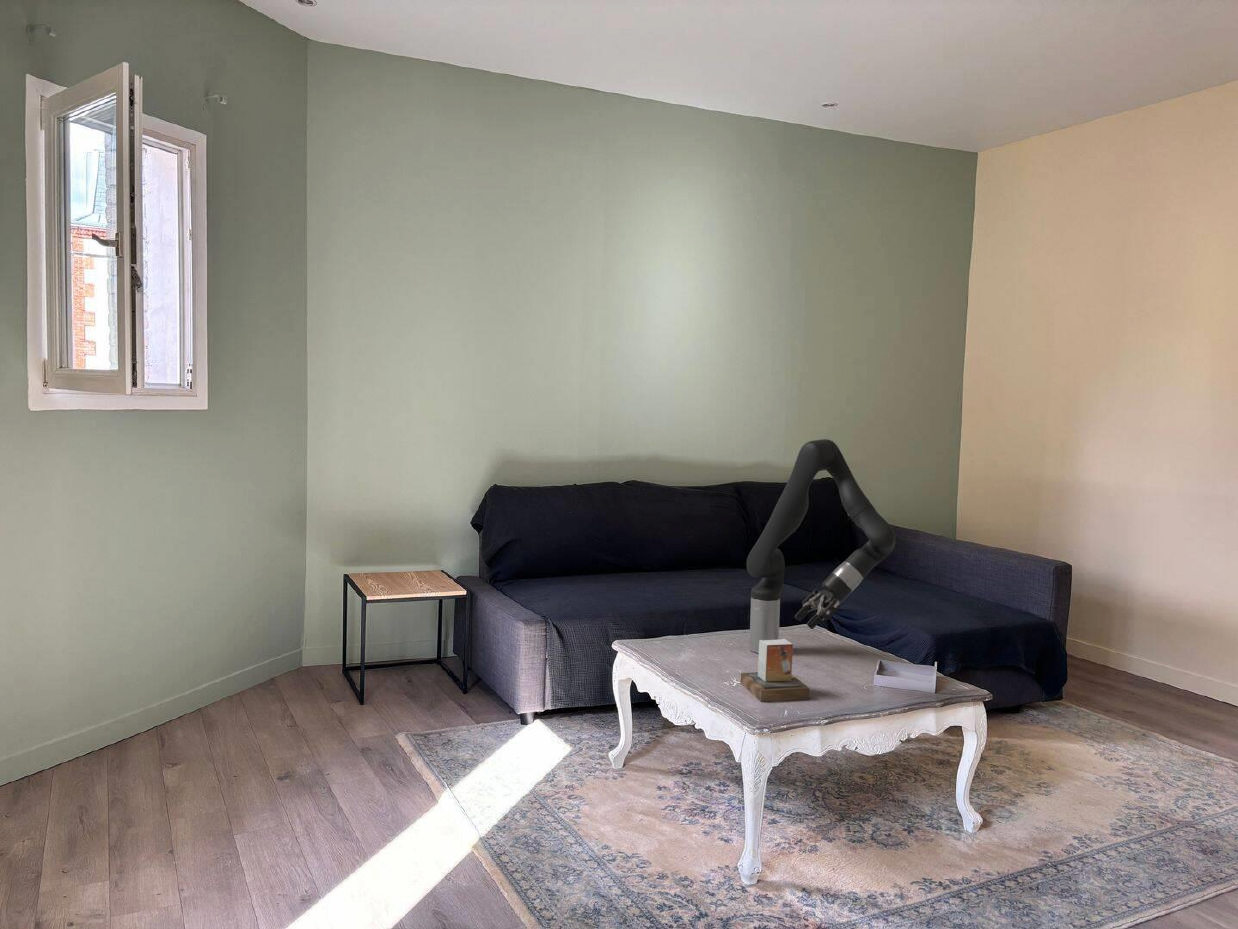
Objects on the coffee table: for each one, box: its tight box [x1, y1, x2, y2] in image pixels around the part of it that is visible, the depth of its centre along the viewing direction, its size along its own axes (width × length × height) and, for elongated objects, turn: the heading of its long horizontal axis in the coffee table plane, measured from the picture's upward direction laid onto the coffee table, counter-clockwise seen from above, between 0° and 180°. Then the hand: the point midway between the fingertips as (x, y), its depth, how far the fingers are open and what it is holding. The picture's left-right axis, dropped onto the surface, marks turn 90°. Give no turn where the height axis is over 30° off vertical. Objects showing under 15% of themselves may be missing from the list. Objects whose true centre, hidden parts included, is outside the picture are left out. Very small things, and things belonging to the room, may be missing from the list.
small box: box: [757, 638, 794, 682], centre depth 263 cm, size 8×6×10 cm
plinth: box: [740, 671, 811, 703], centre depth 263 cm, size 16×14×3 cm
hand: (803, 623), depth 263 cm, fingers open, 8 cm apart
